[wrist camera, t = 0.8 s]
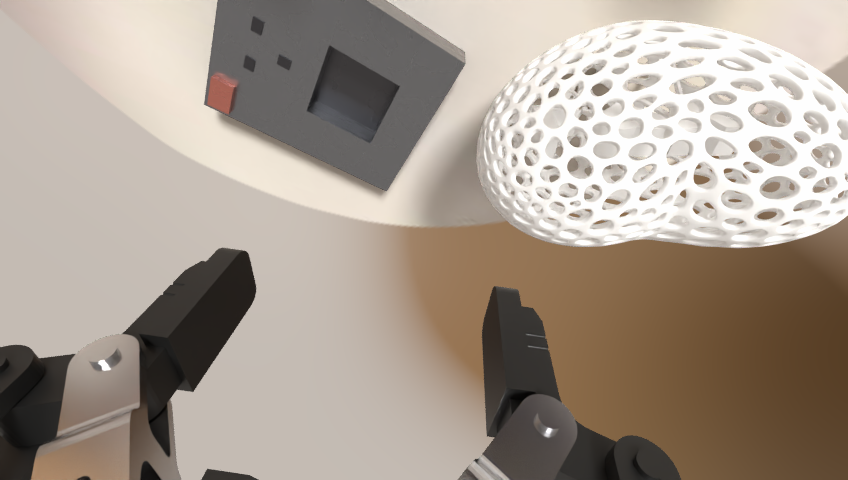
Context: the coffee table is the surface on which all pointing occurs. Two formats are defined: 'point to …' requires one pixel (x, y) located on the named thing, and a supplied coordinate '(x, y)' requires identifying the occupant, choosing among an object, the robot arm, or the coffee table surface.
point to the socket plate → (331, 78)
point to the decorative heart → (666, 140)
